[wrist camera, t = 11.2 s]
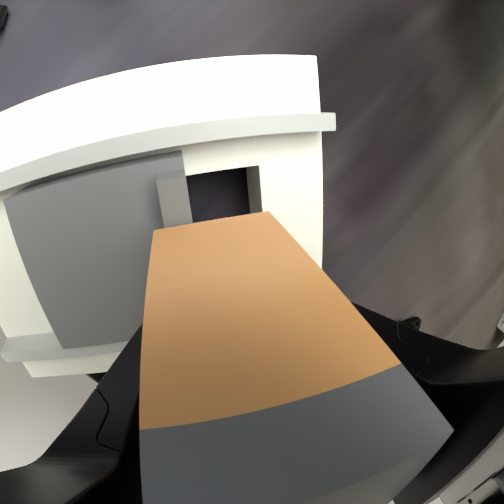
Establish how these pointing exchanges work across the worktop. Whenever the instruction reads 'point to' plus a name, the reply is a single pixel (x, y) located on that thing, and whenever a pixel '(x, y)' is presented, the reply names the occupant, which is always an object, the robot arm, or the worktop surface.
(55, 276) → the shutter
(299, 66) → the socket
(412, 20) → the worktop surface
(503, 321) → the supplement box
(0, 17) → the coffee press
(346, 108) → the worktop surface
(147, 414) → the grey orange block
